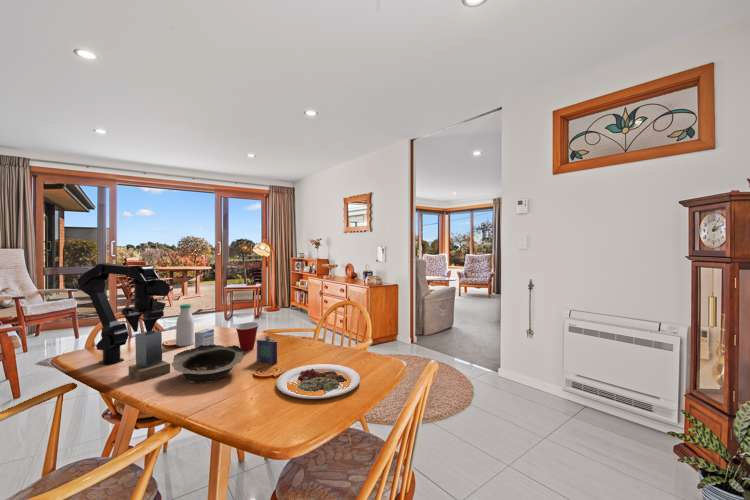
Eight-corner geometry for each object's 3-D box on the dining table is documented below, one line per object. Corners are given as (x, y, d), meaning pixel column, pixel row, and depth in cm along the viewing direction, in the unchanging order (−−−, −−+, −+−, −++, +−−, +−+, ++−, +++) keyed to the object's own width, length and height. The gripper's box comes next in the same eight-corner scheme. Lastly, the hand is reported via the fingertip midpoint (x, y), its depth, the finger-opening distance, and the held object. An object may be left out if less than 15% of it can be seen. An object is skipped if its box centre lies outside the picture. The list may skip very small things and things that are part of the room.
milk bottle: (197, 343, 164) (197, 304, 164) (181, 347, 157) (181, 306, 157) (188, 341, 168) (189, 302, 168) (172, 344, 161) (173, 304, 161)
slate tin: (136, 365, 123) (135, 334, 123) (151, 360, 129) (151, 330, 129) (146, 367, 121) (145, 335, 121) (162, 362, 127) (161, 331, 127)
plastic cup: (231, 348, 157) (231, 324, 157) (253, 344, 164) (253, 320, 164) (239, 354, 149) (239, 328, 149) (262, 349, 156) (262, 324, 156)
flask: (255, 361, 140) (255, 335, 140) (259, 359, 143) (260, 333, 143) (274, 365, 136) (275, 337, 136) (279, 362, 139) (279, 335, 139)
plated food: (337, 410, 100) (337, 399, 100) (257, 393, 110) (257, 383, 110) (371, 375, 128) (371, 366, 128) (306, 364, 138) (306, 356, 138)
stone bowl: (214, 359, 141) (216, 338, 140) (256, 375, 130) (258, 352, 130) (155, 379, 119) (157, 354, 118) (199, 399, 108) (202, 372, 107)
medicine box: (202, 351, 152) (202, 332, 152) (194, 350, 153) (194, 332, 153) (214, 346, 160) (214, 328, 160) (206, 345, 161) (206, 328, 161)
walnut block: (128, 376, 123) (128, 365, 123) (157, 368, 132) (157, 358, 132) (140, 382, 118) (140, 371, 118) (169, 373, 126) (170, 363, 126)
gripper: (176, 294, 138) (176, 331, 138) (149, 291, 146) (148, 326, 146) (149, 298, 128) (148, 337, 128) (121, 294, 136) (120, 331, 136)
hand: (142, 332), depth 135 cm, fingers open, 9 cm apart
